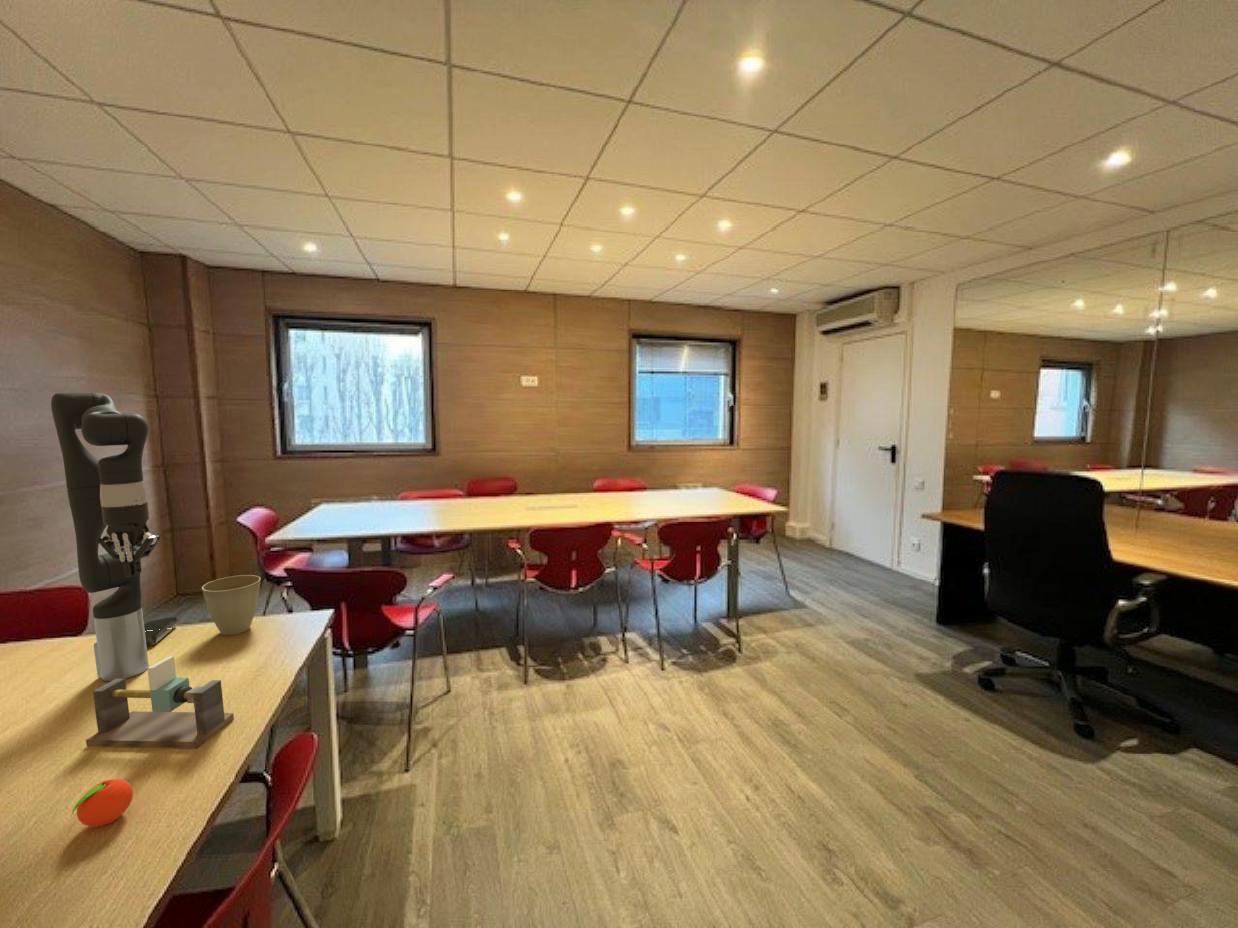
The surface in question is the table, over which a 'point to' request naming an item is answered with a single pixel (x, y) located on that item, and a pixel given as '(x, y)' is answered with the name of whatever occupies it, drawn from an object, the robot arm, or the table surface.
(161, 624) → the black sponge
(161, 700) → the teal sliding block
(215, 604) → the plant pot
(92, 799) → the clementine
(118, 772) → the table surface
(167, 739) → the horizontal rod stand
